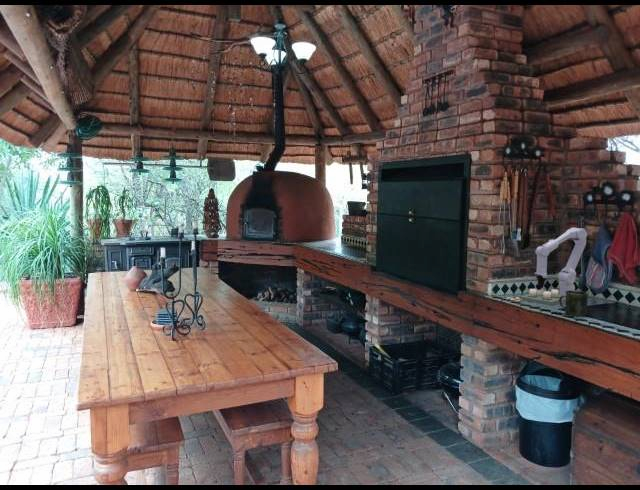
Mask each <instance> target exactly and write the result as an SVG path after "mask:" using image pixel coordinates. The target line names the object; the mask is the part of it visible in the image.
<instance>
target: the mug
mask: <svg viewBox="0 0 640 490" xmlns="http://www.w3.org/2000/svg"><path fill="white" fill-rule="evenodd" d="M565 292H566V296H561V297H560V298H559V303H558V304H559V305H560V307H561V308H562V309H564V310H565V312H564V313H565V314H567V315H569V316H576V317H577V316H578V317H584V316H587V313H588V312H587V311H588V310H587V309H588V295H589V292H587V291H583V290H569V291H565ZM564 297H566V301H565V306H564V305H563V302H561V299H562V298H564Z"/></svg>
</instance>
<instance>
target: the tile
mask: <svg viewBox="0 0 640 490" xmlns="http://www.w3.org/2000/svg"><path fill="white" fill-rule="evenodd" d="M519 297H520V296H519ZM519 297H517V296H509V297H506V298H507V299H506V300H508V299H510V300H509V301H513V300H514V302H521V301H524V300H523V299H519Z"/></svg>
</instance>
